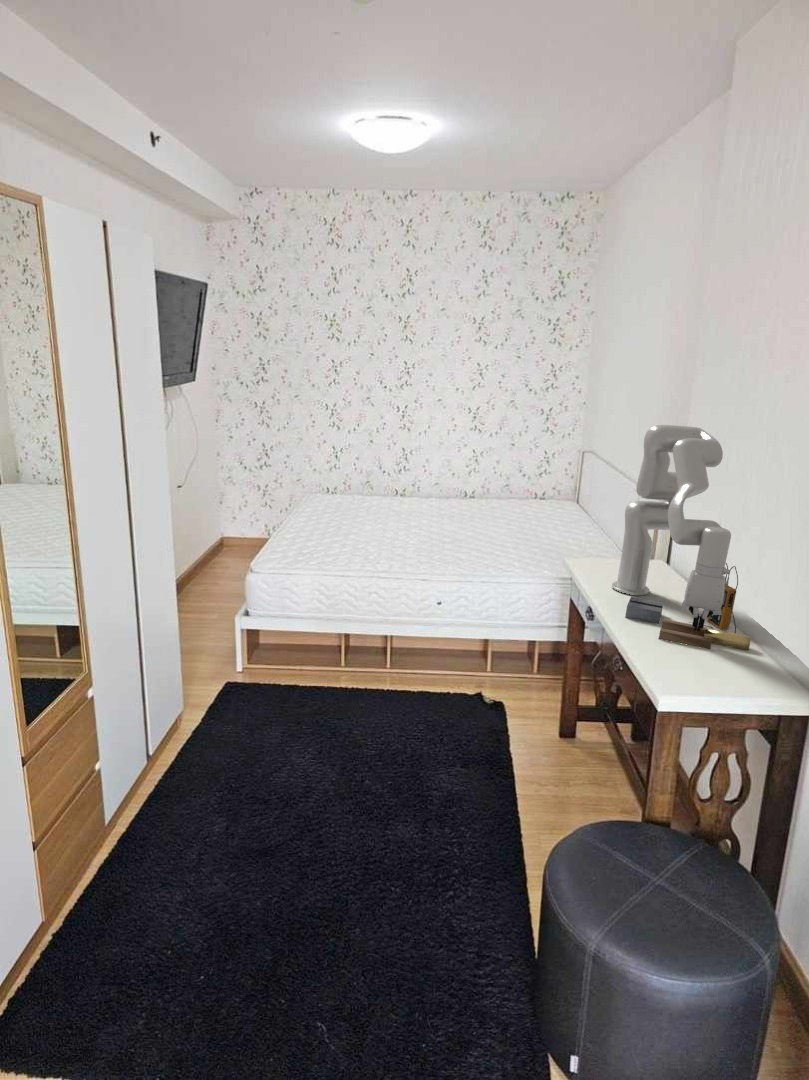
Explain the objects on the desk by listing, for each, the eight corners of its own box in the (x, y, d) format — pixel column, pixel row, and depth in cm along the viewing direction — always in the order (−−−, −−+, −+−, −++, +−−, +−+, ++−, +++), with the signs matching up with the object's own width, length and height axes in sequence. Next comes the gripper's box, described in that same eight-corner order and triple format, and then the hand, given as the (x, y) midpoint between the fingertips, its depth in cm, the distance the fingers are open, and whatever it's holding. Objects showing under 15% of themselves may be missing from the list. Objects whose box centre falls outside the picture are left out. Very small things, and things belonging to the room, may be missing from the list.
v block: (629, 608, 234) (631, 596, 233) (661, 614, 230) (663, 602, 229) (625, 617, 225) (627, 605, 224) (658, 624, 221) (660, 612, 220)
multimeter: (679, 617, 229) (690, 556, 223) (707, 617, 231) (719, 557, 226) (707, 635, 215) (719, 571, 210) (736, 635, 217) (749, 572, 212)
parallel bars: (661, 626, 220) (663, 618, 219) (711, 636, 214) (712, 628, 214) (658, 638, 209) (660, 630, 209) (710, 649, 204) (712, 641, 204)
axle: (703, 640, 208) (706, 626, 209) (702, 642, 212) (705, 628, 213) (749, 649, 204) (751, 635, 205) (747, 651, 208) (749, 637, 208)
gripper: (737, 571, 206) (724, 631, 211) (682, 561, 211) (671, 619, 217) (737, 578, 199) (724, 640, 204) (680, 568, 205) (669, 628, 210)
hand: (697, 629), depth 210 cm, fingers closed
